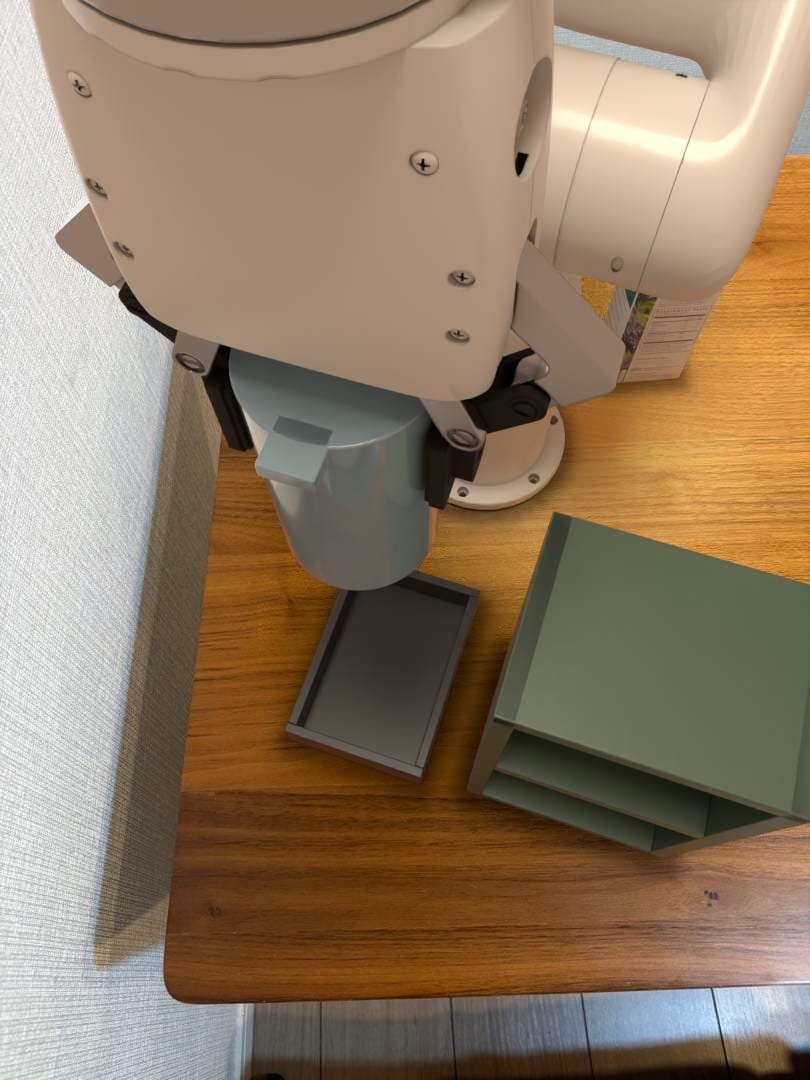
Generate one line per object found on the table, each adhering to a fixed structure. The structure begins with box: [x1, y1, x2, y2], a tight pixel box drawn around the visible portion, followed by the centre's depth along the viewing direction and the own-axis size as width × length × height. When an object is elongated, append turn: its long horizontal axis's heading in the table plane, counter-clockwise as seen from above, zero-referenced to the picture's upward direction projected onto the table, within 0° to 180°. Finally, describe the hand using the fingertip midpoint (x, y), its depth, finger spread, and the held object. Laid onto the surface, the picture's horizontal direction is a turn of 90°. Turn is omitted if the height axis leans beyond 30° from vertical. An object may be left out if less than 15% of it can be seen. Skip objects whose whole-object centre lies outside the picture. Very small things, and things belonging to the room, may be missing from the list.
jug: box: [229, 347, 440, 590], centre depth 29 cm, size 10×6×11 cm, turn 161°
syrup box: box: [603, 217, 725, 384], centre depth 62 cm, size 6×6×14 cm
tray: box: [284, 569, 482, 786], centre depth 56 cm, size 13×9×3 cm
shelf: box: [465, 511, 810, 859], centre depth 45 cm, size 10×13×22 cm
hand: (350, 442), depth 29 cm, fingers closed on jug, 6 cm apart
